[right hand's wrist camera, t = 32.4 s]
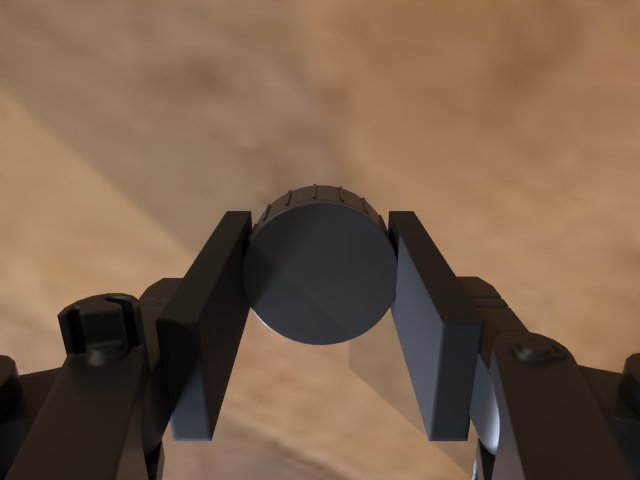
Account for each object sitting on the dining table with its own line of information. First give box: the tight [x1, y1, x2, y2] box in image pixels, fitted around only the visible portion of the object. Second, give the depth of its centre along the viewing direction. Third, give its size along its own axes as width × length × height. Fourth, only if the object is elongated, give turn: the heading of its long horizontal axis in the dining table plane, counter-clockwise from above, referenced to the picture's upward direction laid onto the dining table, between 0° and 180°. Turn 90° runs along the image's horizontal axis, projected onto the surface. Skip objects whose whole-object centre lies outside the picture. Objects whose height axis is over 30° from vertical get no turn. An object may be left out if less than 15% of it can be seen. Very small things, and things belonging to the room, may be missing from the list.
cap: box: [243, 184, 398, 345], centre depth 13 cm, size 4×4×2 cm
